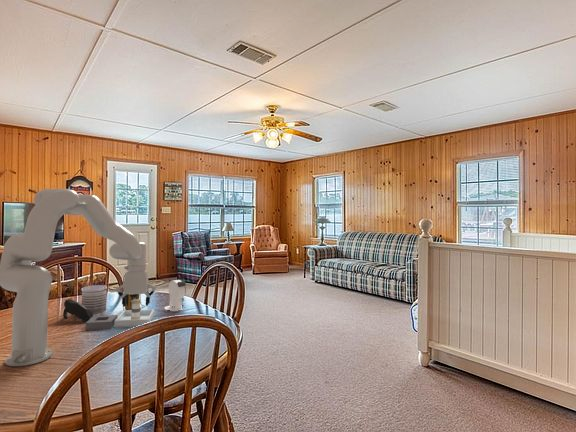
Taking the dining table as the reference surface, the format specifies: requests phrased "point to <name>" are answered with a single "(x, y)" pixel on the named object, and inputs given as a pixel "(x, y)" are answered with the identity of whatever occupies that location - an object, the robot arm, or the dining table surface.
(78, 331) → the dining table surface
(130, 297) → the multimeter
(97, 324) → the grey flat square block
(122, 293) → the robot arm
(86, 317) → the gun
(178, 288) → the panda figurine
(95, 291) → the can
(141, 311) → the parts tray
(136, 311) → the cylinder
